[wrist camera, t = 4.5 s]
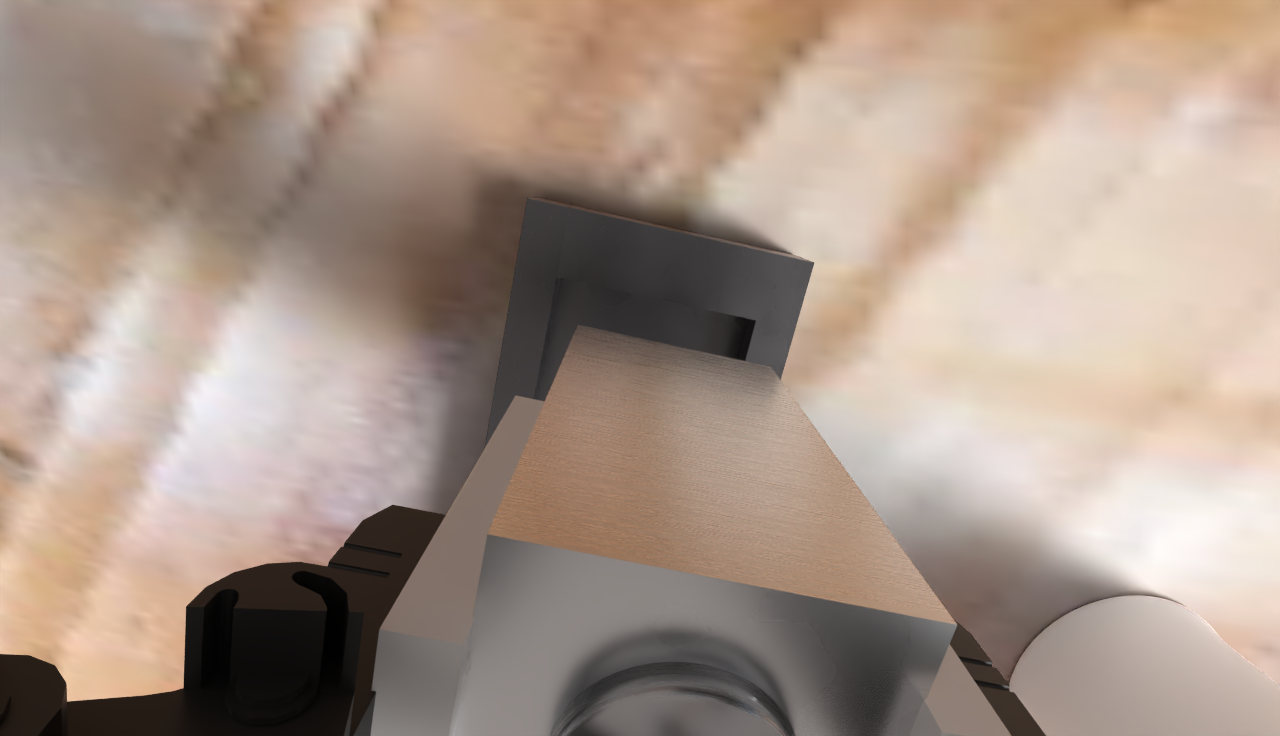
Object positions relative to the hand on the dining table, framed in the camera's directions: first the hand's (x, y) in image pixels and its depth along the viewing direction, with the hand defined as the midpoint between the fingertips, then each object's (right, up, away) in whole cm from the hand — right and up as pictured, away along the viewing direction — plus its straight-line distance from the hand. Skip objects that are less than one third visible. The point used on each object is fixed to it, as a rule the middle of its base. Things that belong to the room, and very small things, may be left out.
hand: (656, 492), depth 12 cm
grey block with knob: (0, +1, +3) cm, 3 cm away
